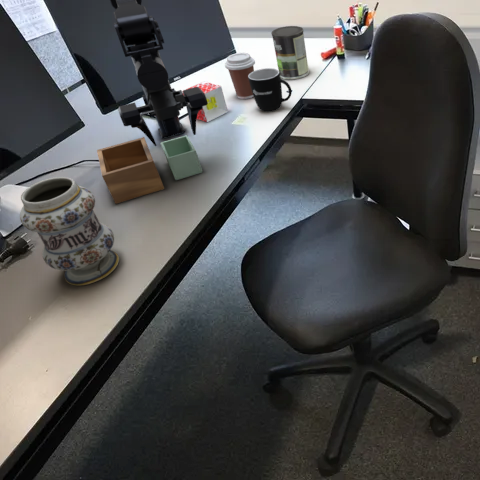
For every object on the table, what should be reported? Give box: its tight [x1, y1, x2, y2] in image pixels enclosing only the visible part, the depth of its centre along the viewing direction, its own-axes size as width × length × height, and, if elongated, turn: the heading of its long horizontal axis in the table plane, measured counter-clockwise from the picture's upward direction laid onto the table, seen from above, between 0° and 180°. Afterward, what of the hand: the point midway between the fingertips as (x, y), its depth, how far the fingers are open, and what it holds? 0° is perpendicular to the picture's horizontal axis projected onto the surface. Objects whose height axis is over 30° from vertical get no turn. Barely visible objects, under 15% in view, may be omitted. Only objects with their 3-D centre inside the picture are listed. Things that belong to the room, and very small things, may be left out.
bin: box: [160, 134, 204, 181], centre depth 118 cm, size 10×7×6 cm
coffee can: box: [270, 25, 310, 80], centre depth 160 cm, size 10×10×14 cm
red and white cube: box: [181, 81, 229, 123], centre depth 142 cm, size 8×8×8 cm
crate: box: [96, 136, 165, 205], centre depth 114 cm, size 14×11×8 cm
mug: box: [248, 67, 292, 113], centre depth 141 cm, size 12×9×10 cm
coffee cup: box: [224, 52, 256, 100], centre depth 150 cm, size 9×9×12 cm
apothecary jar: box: [19, 176, 120, 286], centre depth 87 cm, size 12×12×18 cm
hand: (175, 139), depth 115 cm, fingers open, 9 cm apart
